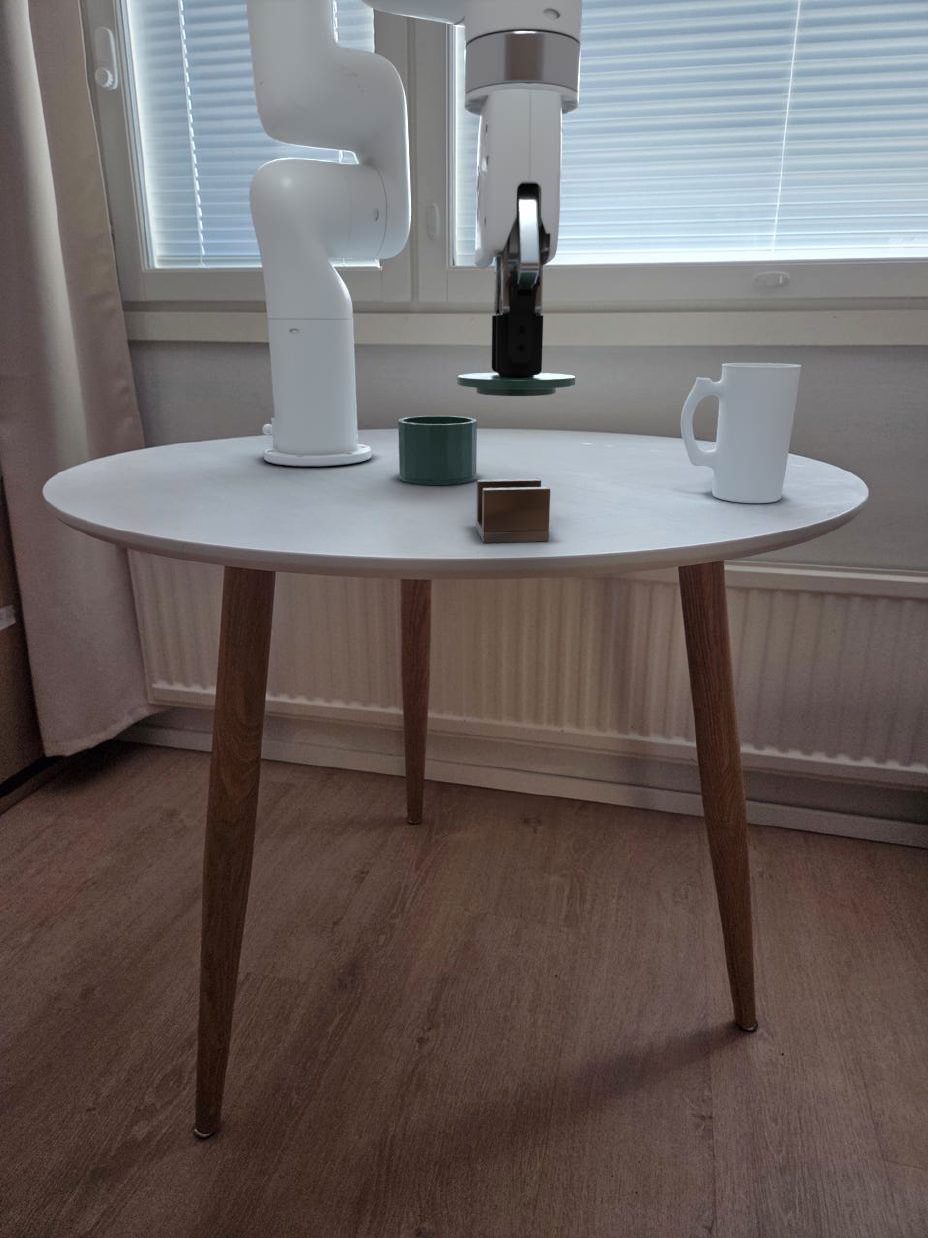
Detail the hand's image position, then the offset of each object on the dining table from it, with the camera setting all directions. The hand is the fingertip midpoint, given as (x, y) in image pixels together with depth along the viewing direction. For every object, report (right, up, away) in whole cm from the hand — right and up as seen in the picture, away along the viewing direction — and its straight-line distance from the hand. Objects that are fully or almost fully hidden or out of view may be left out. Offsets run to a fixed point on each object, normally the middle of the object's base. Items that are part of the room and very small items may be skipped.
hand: (515, 370), depth 61 cm
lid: (0, -1, 0) cm, 1 cm away
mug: (+21, -7, +19) cm, 29 cm away
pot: (-6, -3, +27) cm, 28 cm away
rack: (0, -12, +4) cm, 12 cm away
